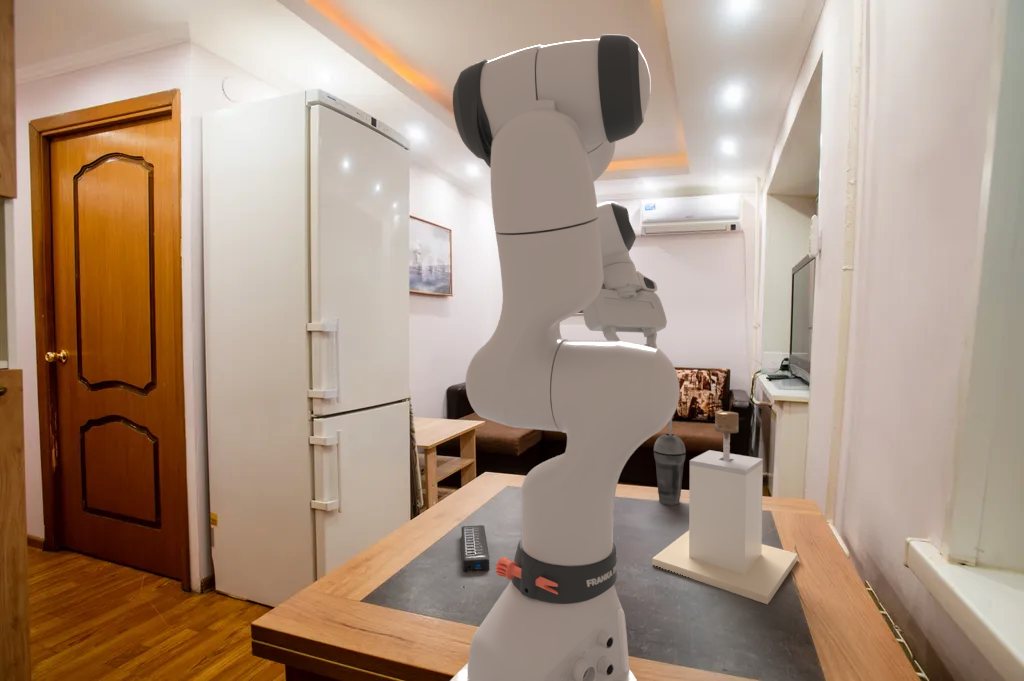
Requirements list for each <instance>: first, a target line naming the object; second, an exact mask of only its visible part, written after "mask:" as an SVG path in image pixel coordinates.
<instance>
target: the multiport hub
mask: <svg viewBox="0 0 1024 681" xmlns="http://www.w3.org/2000/svg"><path fill="white" fill-rule="evenodd" d="M461 551H462V552H461V553H462V554H461V555H462V556H461V557H462V559H461V560H462V572H463V573H473V572H474V573H475V572H488V571H490V555H489V548H488V541H487V535H486V527H485V525H481V524H479V525H465V526H464V525H463V526H461Z"/></svg>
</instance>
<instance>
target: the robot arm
mask: <svg viewBox="0 0 1024 681" xmlns="http://www.w3.org/2000/svg"><path fill="white" fill-rule="evenodd" d="M651 83H652V80H651V73H650V69H649V66H648V62H647V60H646V58H645V57H644V54H643V53H642V51H641V47H640V44H639V43H637V42H636V41H635V40H634V39H633V38H631V37H630V36H629V35H625V34H624V35H623V34H601V35H600V37H599V38H595V39H593V38H592V39H580V40H570V41H564V42H558V43H551V44H547V45H543V44H538V45H534V46H530V47H526V48H522V49H519V50H515V51H512V52H509V53H507V54H505V55H501V56H499V57H496V58H494V59H491V60H489V59H488V58H485V59H482V60H479V61H478V62H476V63H474V64H471V65H469V66H468V67H466V68H464V69H463V70H462V71H461V72H460V73H459V75H458V78H457V80H456V82H455V84H454V86H453V92H452V111H453V116H454V121H455V125H456V128H457V132H458V135H459V137H460V139H461V141H462V142H463V144H464V145H465V147H466V148H467V149H468V150H469V151H470V152H471V153H472V154H473V155H474V156H475V157H476V158H478V159H480V160H483V161H484V162H485V163H486V166H488V167H489V169H490V194H491V195H490V197H491V208H492V217H493V218H492V219H493V224H494V231H495V239H496V243H497V244H496V245H497V252H498V259H499V267H500V275H501V288H502V304H501V310H500V311H501V312H500V316H499V320H498V323H497V324H496V325H497V326H496V328H495V329H494V332H493V334H492V336H491V337H490V338H489V340H488V341H486V343H485V344H484V345H482V346H481V347H480V348H479V349H478V350H477V352H475V354H474V355H473V357H472V358H471V360H470V362H469V363H468V364H469V365H468V367H467V371H466V376H465V390H466V391H465V392H466V397H467V399H468V401H469V404H470V406H471V408H472V409H473V411H474V413H476V415H478V416H479V418H483V419H486V420H488V421H491V422H494V423H498V424H500V425H502V426H503V425H504V426H507V427H510V428H517V429H529V430H530V429H531V430H538V431H539V430H540V431H550V432H561V433H564V434H566V437H567V438H566V447H565V451H564V453H562V454H560V455H559V454H558V455H555V457H554V456H553V457H552V458H549V459H547V460H545V461H542V462H541V463H539V464H538V465H536V466H534V467H533V468H532V469H530V471H529V472H528V473H527V474H526V476H525V478H524V480H523V483H522V485H521V489H520V535H521V536H520V539H519V541H518V544H517V548H516V550H515V554H514V559H513V561H511V560H510V559H509V558H507V557H505V556H502V557H500V558H498V560H497V562H496V564H495V573H496V574H497V575H498V576H500V577H503V578H504V577H505V578H506V580H510V581H509V583H508V585H506V588H505V589H504V590H503V591H502V593H501V594H500V596H499V597H498V599H497V600H496V602H495V603H494V605H492V608H491V609H490V610H489V612H488V614H487V615H486V616H485V618H484V620H483V621H482V622H481V624H480V625H479V626H478V628H477V629H476V631H475V632H474V634H473V636H472V637H471V638H472V639H471V643H470V646H469V647H470V648H469V652H468V662H466V664H465V665H463V667H461V669H459V670H458V672H457V673H456V674H455V675H454V676H453V677H452V678H451V679H450V680H449V681H638V680H637V677H636V676H635V674H634V673H633V672H632V670H631V669H630V660H629V659H630V658H629V649H628V648H629V647H628V637H627V636H628V635H627V633H628V632H627V624H626V614H625V612H624V608H623V607H622V603H621V602H620V599H619V596H618V594H617V590H616V586H615V583H616V581H617V578H618V577H617V575H618V574H617V573H618V570H617V569H618V567H619V566H618V562H619V561H618V556H617V547H616V545H615V544H614V542H613V540H614V539H613V538H614V536H613V535H614V531H613V530H614V514H615V513H614V512H615V510H614V509H615V501H616V500H615V499H616V490H617V486H618V483H619V479H620V476H621V473H622V471H623V469H624V467H625V466H626V464H627V462H628V460H630V457H631V456H632V455H633V454H634V453H635V451H636V450H638V448H639V447H640V446H641V445H643V444H644V442H646V441H647V440H649V439H650V438H651V437H653V436H655V435H656V434H658V433H659V432H661V431H662V430H663V429H664V428H665V427H666V426H667V425H668V424H669V423H670V420H671V418H672V419H673V417H674V415H675V412H676V410H677V408H678V404H679V399H680V389H681V388H680V381H679V377H678V376H679V375H678V374H677V371H676V368H675V367H674V364H673V362H672V361H671V359H670V358H669V357H668V356H667V355H666V354H665V353H664V352H663V350H662V349H660V348H658V346H657V343H656V342H657V337H658V332H659V331H662V330H664V329H665V328H666V327H667V323H668V320H667V316H666V313H665V309H664V307H663V303H662V301H661V298H660V297H659V295H658V294H657V293H656V292H657V291H658V286H657V283H656V282H655V280H652V279H650V278H648V277H647V276H645V275H643V273H641V272H640V271H638V270H637V269H636V266H635V263H634V261H633V260H632V258H631V256H630V251H631V249H632V247H633V245H634V243H635V241H636V238H637V235H636V233H635V231H634V228H633V226H632V225H631V221H630V215H629V211H628V208H627V207H625V206H624V205H622V204H620V203H618V202H616V201H613V200H610V201H605V202H602V203H598V201H597V196H596V195H597V194H596V188H595V181H596V180H598V179H599V178H600V177H601V176H602V175H603V174H604V173H605V171H606V170H607V169H608V167H609V166H610V164H611V162H612V159H613V157H614V155H615V149H616V142H617V141H620V140H623V139H625V138H626V139H627V138H628V137H630V136H632V135H634V134H636V132H637V131H638V130H639V128H640V127H641V126H642V124H643V123H644V119H645V114H646V112H647V110H648V107H649V102H650V99H651V91H652V90H651V89H652V84H651ZM580 312H582V313H583V314H582V315H583V320H584V324H585V326H586V327H587V329H588V330H589V331H591V332H593V331H594V332H602V334H603V336H604V338H605V339H606V340H589V339H588V340H587V339H586V340H584V339H583V340H581V339H580V340H577V339H576V340H575V339H571V340H569V339H567V338H566V339H564V338H562V335H561V327H560V326H561V324H560V323H561V322H563V321H565V320H567V319H569V318H571V317H573V316H574V315H576V314H578V313H580ZM617 332H618V333H637V334H638V333H639V334H640V333H641V334H643V336H644V337H643V338H646V342H645V344H639V343H635V342H628V341H622V340H620V338H619V336H618V335H617Z"/></svg>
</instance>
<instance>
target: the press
mask: <svg viewBox="0 0 1024 681" xmlns="http://www.w3.org/2000/svg"><path fill="white" fill-rule="evenodd" d="M763 460H764V459H763V458H760V457H753V456H748V455H742V454H735V453H730V462H728V461H723V452H722V451H716V450H711V449H709V450H707V451H705V452H703V453H701V454H699V455H697V456H694V457H693V458H691V459H690V460H689V491H688V492H689V493H688V494H689V497H688V498H689V501H688V502H689V504H688V508H689V510H688V511H689V516H688V517H689V521H688V522H689V523H688V524H689V528H688V530H687V531H685V532H684V533H683V534H682V535H680V536H678V538H676V539H675V540H674V541H673V542H671V543H670V544H668V545H667V546H666V547H665V548H664V549H662V550H661V551H660V552H659V553H657V554H656V555H655V556H653V557H652V558H651V559H652V560H651V561H652V562H651V563H652V564H651V565H652V566H653V565H655V566H654V567H656V566H658V567H657V568H659V567H661V568H660V569H662V568H663V570H665V569H666V570H665V571H668V570H670V571H669V572H671V571H672V573H674V572H675V573H674V574H677V573H678V574H677V575H680V574H681V575H680V576H682V575H683V576H682V577H685V576H686V578H688V577H689V579H691V580H693V581H698V582H701V583H703V584H706V585H709V586H712V587H715V588H718V589H721V590H723V591H727V592H730V593H733V594H736V595H738V596H741V597H744V598H747V599H750V600H754V601H756V602H759V603H762V604H765V605H769V603H770V602H771V600H772V599H773V598H774V596H775V595H776V593H777V591H778V590H779V588H780V587H781V586H782V584H783V582H785V580H786V579H787V577H788V575H789V574H790V572H791V571H792V569H793V568H794V566H795V565H796V563H797V562H798V555H799V554H798V553H797V552H792V551H789V550H786V549H782V548H778V547H774V546H770V545H767V544H763V543H762V542H763V541H762V540H763V480H764V479H763V478H764V477H763V476H764V475H763V474H764V472H763V468H764V466H763V465H764V464H763Z"/></svg>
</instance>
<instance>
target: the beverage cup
mask: <svg viewBox="0 0 1024 681" xmlns="http://www.w3.org/2000/svg"><path fill="white" fill-rule="evenodd" d="M672 427H673V417H672V418H671V420H670V421H669V428H668V429H669V430H668V431H669V432H668V433H664V434H662V435H660V436H659V437H657V439H656V441H655V442H654V445H653V450H652V452H653V457H654V460H655V467H656V468H655V469H656V471H655V472H656V481H657V494H658V501H659V502H660V503H661V502H662V504H664V505H671V506H672V505H673V506H674V505H679V504H680V503H681V502H680V501H681V495H682V493H681V492H682V484H683V474H684V464H685V460H686V455H687V451H686V447H685V443H684V442H683V440H682V439H681V438H680V437H679V436H678V435H676V434H673V433H672Z"/></svg>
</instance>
